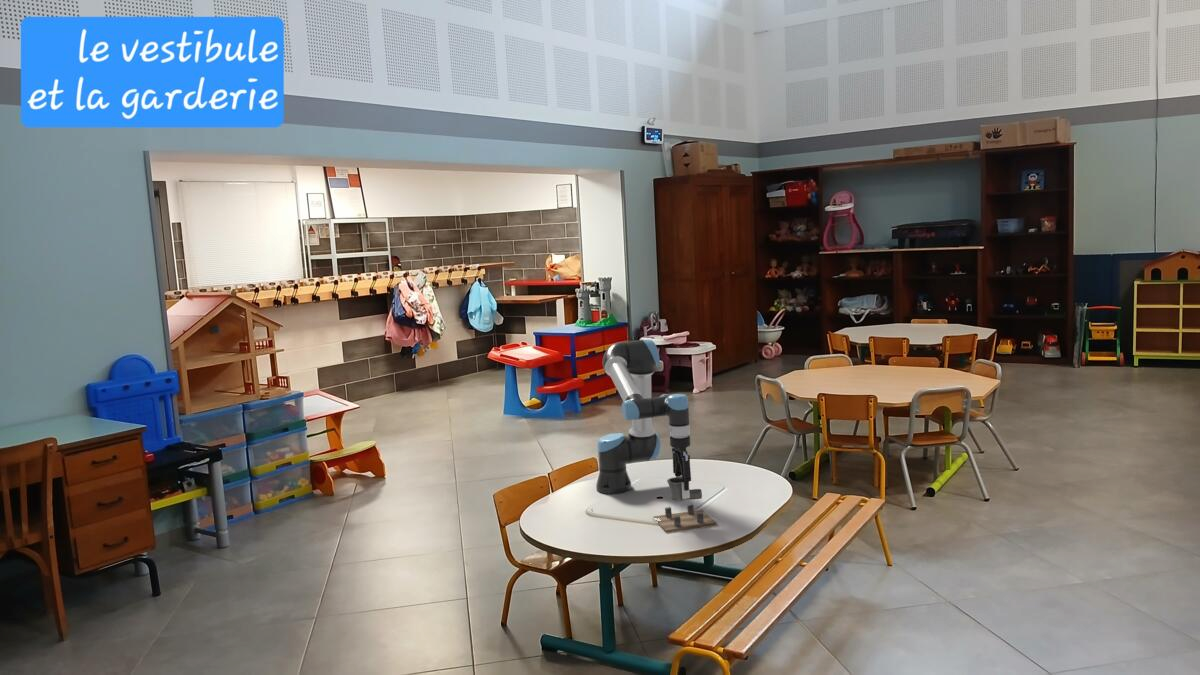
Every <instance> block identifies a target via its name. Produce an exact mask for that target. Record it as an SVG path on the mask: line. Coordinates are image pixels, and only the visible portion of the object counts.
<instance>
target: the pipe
mask: <svg viewBox="0 0 1200 675" xmlns="http://www.w3.org/2000/svg"><path fill="white" fill-rule="evenodd" d="M681 481H682V478H681V477H676V476H674V477H671V478H668V479H667V480H666V482H667V484H668V487H669V491H670V498H671V500H673V501H674V502H683V501H685V500H700V499H701V500H702V497H703V493H702V492H703V490H702V489H700V488H693V489H689V491H690V498H687V499H682V483H681Z"/></svg>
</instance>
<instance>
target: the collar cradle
mask: <svg viewBox="0 0 1200 675" xmlns="http://www.w3.org/2000/svg"><path fill="white" fill-rule="evenodd" d="M686 506H687V508H686V509H687V511H681V512H676V513H672V507H671V506H668V507H664V513H665V514H662V515H661V514H660V515H655V516H652V518H653V517H654V518H657V519H658V518H659V519H660V520H661V521H657V520H656V521H657V522H658V524H659V525H658V524H657V525H658V526H659V527H660V528H661V529H662V530H663V531H664V532H665V533H674V532H681V531H685V530H686V531H687V530H693V529H700V528H706V527H712V526H718V522H717V521H716V520H714V518H713V517H711V516H710V515H709V514H708V513H706V511H704V510H703V509H696V510H695V509H694V508H695V507H694V506H695V505H694V504H693V503H689V504H686Z"/></svg>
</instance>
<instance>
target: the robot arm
mask: <svg viewBox="0 0 1200 675" xmlns="http://www.w3.org/2000/svg"><path fill="white" fill-rule="evenodd" d="M660 360H661V359H660V354H659V350H658V347H657V345H656V343H655V342H654V341H653V340H652V339H637V340H629V341H628V340H627V341H618V342H615V343H613V344H611V345H610V346H609V347H608V348H607V349H606V351H605V352H604V354H603V357H602V367H603V369H604V372H605V373H606V374H607V376H609V377H610V378H611V380H612V382H613V384H614V386H615V388H616V390H617V391H618V394H619V396H620V397H621V400H622V403H621V412H622V417H623V418H624V420H626V421H631V427H630V429H629V430H628V436H627V435H626V436H625V434H624V433H622V432H617V433H609V434H606V435H603V436H602V437H600V438H599V439H598V441H597V453H598V455H597V457H598V469H599V470H598V471H599V473H598V477H597V479H596V480H597V481H596V484H595V485H596V491H597V492H599V493H602V494H609V495H610V494H612V495H613V494H620V493H621V494H622V493H626V492H628V491H630V490H631V489H632V482H631V479H630V476H629V474H628V471H627V464H632V463H641V462H650V461H653V460H656V459H657V458H658V457H659V454H660V451H661V442H660V441H661V439H660V436H659V433H657V432H656V430H655V428H653V425H652V424H653V423H652V422H653V420H652V419H653V418H661V417H668V425H669V428H668V431H669V436H670V437H669V442H670V443H669V445H670V447H671V451H672V471H673V473H672V474H674V475H675V476H674V477H681V478H682V481H681V483H682V499H685V500H688V499H687V498H690V491H689V490H690V482H691V481H692V472H691V455H690V454H688V451H687V448H688V447H690V446H691V436H690V435H691V428H690V427H691V426H690V410H689V408H690V406H689V405H690V404H689V398H688V395H686V394H684V393H683V394H682V393H672V394H668V393H667V394H666V393H663V394H661V395H660V396H656V397H652V376H653V374H654V373H655V372H656V368H657V367H659V366H660ZM655 367H656V368H655Z"/></svg>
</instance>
